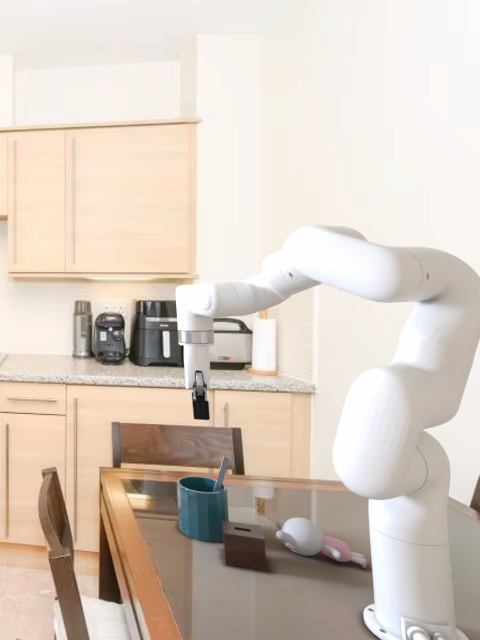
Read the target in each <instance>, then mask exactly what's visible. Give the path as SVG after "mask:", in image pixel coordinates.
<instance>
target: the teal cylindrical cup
mask: <svg viewBox="0 0 480 640" xmlns="http://www.w3.org/2000/svg"><path fill="white" fill-rule="evenodd" d="M216 480H217V479H215V478H211V477H207V476H199V475H187V476H182V477H179V478H178V479H177V480H176V495H177V517H178V518H177V519H178V520H177V521H178V528H179V530H180V531H181V533H183V534H184V535H186V536H188V537H190V538H192V539H196V540H199V541H203V542H221V541H222V542H223V531H222V520H223V521H229V520H230V519H229V502H228V487H227V485H226V484H224V483H222V486H221V490H220V491H218V492H213V491H214V487H215V484H216Z"/></svg>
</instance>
